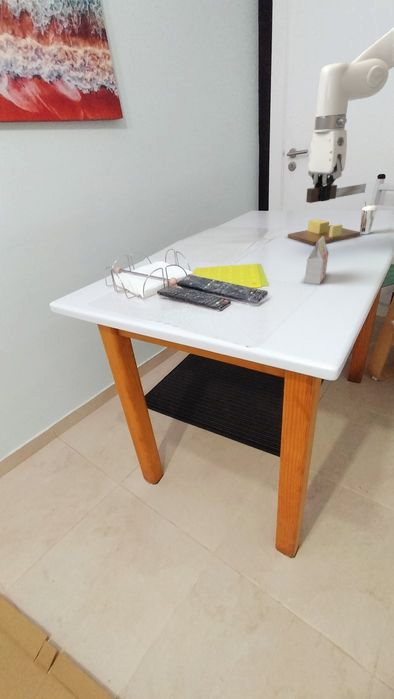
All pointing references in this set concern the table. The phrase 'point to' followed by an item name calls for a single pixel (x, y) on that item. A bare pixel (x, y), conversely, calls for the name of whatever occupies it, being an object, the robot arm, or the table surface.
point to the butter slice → (335, 230)
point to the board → (314, 237)
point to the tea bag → (317, 263)
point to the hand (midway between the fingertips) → (321, 199)
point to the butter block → (318, 226)
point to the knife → (334, 192)
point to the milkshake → (367, 218)
